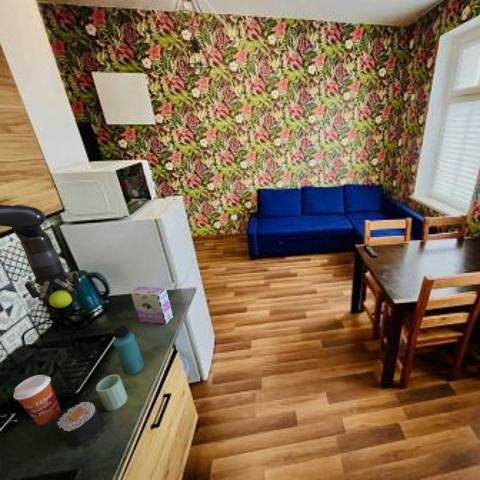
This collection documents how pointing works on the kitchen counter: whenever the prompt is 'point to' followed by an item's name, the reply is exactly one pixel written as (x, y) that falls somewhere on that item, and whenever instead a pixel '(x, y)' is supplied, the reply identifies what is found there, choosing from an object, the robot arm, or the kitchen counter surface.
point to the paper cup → (38, 398)
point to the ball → (60, 298)
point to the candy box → (152, 305)
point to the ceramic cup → (111, 392)
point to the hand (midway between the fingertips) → (61, 301)
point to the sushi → (80, 423)
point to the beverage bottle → (127, 350)
